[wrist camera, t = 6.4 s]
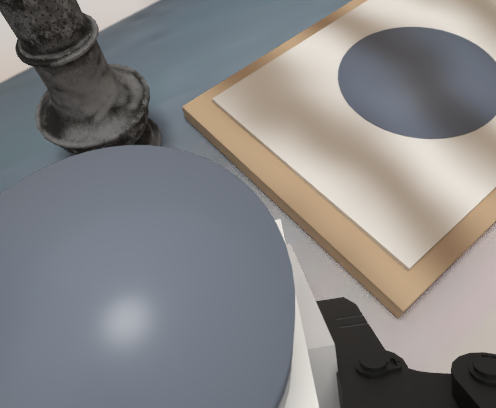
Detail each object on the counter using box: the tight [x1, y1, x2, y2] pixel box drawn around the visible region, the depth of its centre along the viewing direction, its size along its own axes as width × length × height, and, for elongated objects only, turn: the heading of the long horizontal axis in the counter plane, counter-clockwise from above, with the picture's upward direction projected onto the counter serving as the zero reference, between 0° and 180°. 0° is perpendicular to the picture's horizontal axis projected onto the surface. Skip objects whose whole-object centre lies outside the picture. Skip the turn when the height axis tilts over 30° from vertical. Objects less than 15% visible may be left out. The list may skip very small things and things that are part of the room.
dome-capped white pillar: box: [0, 145, 319, 408], centre depth 10 cm, size 4×4×14 cm
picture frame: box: [182, 0, 496, 318], centre depth 24 cm, size 22×16×1 cm
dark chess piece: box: [0, 0, 161, 156], centre depth 19 cm, size 6×6×12 cm
